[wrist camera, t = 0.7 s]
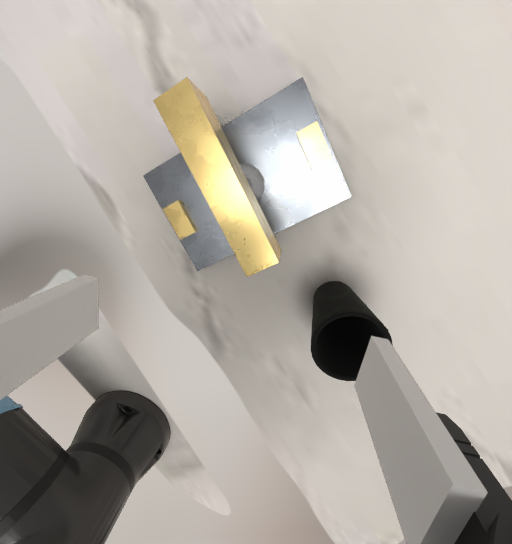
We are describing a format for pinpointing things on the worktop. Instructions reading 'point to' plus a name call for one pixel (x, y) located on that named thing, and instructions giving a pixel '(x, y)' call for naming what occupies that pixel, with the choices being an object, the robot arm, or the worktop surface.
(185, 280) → the worktop surface
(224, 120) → the worktop surface
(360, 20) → the worktop surface
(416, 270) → the worktop surface
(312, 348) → the cup
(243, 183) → the flat gold bar
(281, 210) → the plate
